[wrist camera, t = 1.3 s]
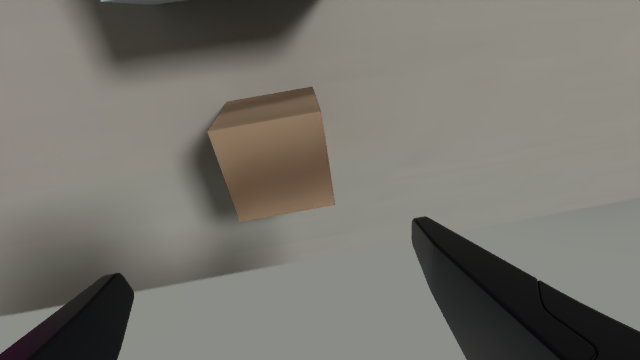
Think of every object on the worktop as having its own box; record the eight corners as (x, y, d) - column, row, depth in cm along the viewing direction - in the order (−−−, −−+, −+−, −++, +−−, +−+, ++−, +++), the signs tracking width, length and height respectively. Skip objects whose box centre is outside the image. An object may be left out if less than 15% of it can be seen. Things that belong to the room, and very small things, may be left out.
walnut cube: (227, 101, 17) (207, 131, 13) (312, 86, 17) (320, 111, 13) (250, 175, 20) (240, 222, 15) (324, 162, 20) (335, 204, 15)
